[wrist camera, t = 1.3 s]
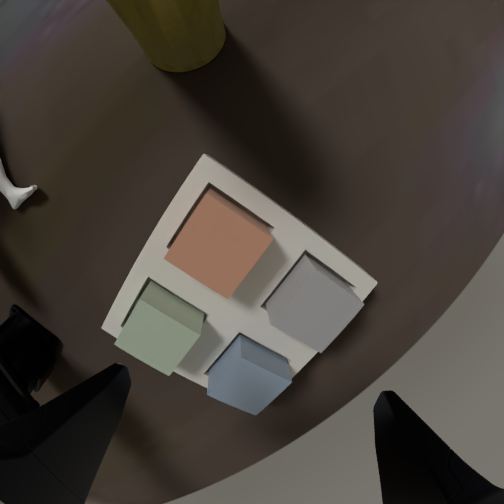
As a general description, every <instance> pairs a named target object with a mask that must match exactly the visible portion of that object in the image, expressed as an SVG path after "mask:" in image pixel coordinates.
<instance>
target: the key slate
mask: <svg viewBox="0 0 504 504" xmlns="http://www.w3.org/2000/svg"><path fill="white" fill-rule="evenodd" d="M291 383H292V379H291V375H290V371H289V367H288V364H287V360H286V359H285V358H283V357H281V356H280V355H278V354H276V353H274V352H272V351H270V350H268V349H266V348H264V347H262V346H261V345H259V344H257V343H255V342H253V341H251V340H249V339H248V338H246V337H244V336H242V335H239V336H238V338H237V339H236V340H235V341H234V342H233V344H232V345H231V346H230V347H229V348H228V349H227V351H226V352H225V353H224V354H223V355H222V356H221V358H220V359H219V360H218V361H217V362H216V363H215V365H214V366H213V367H212V368H211V369H210V370H209V376H208V388H207V395H208V396H211V397H213V398H215V399H217V400H219V401H222V402H224V403H226V404H229V405H231V406H233V407H236V408H238V409H241V410H243V411H245V412H248V413H250V414H253V415H257V414H258V413H259V412H261V411H262V410H263V409H264V408H265V407H266V406H267V405H268V404H270V403H271V402H272V401H273V400H274V399H275V398H276V397H277V396H278V395H279V394H280V393H282V392H283V391H284V390H285V389H286V388H287V387H288V386H289V385H290V384H291Z"/></svg>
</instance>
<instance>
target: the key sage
mask: <svg viewBox="0 0 504 504" xmlns="http://www.w3.org/2000/svg"><path fill="white" fill-rule="evenodd" d="M203 318H204V313H202V312H201V311H199V310H197V309H196V308H194V307H192V306H191V305H189V304H187V303H186V302H184V301H182V300H181V299H179V298H178V297H176V296H174V295H173V294H171V293H170V292H168V291H166V290H165V289H163V288H162V287H160V286H159V285H157V284H155V283H154V282H152V281H150V283H149V284H148V286H147V288H146V289H145V291H144V292H143V294H142V296H141V297H140V299H139V301H138V302H137V304H136V306H135V308H134V309H133V311H132V313H131V315H130V316H129V318H128V320H127V322H126V324H125V325H124V327H123V329H122V331H121V333H120V335H119V336H118V338H117V340H116V342H115V345H116V346H118V347H119V348H121V349H123V350H124V351H126V352H127V353H129V354H131V355H132V356H134V357H136V358H138V359H139V360H141V361H143V362H144V363H146V364H148V365H150V366H151V367H153V368H155V369H157V370H159V371H161V372H162V373H164V374H166V375H168V376H170V374H171V373H172V372H173V370H174V369H175V368H176V367H177V365H178V364H179V363H180V361H181V360H182V359H183V358H184V356H185V355H186V354H187V352H188V351H189V350H190V348H191V347H192V346H193V345H194V343H195V342H196V341H197V339H198V338H199V337H200V335H201V329H202V323H203Z"/></svg>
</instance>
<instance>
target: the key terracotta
mask: <svg viewBox="0 0 504 504" xmlns="http://www.w3.org/2000/svg"><path fill="white" fill-rule="evenodd" d="M272 241H273V237H272V235H271V233H270V231H269V229H268V228H267V227H266V226H264V225H263V224H261V223H260V222H259V221H257V220H256V219H254V218H253V217H251V216H250V215H249V214H247V213H246V212H244V211H243V210H241V209H240V208H238V207H237V206H236V205H234V204H233V203H231V202H230V201H228V200H227V199H225V198H224V197H222V196H221V195H219V194H218V193H217V192H215V191H214V190H212V189H211V188H210V189H209V190H208V192H207V193H206V194H205V196H204V197H203V199H202V200H201V202H200V203H199V204H198V206H197V207H196V209H195V210H194V212H193V213H192V215H191V216H190V218H189V219H188V221H187V223H186V224H185V226H184V227H183V229H182V230H181V232H180V233H179V235H178V236H177V238H176V240H175V241H174V243H173V244H172V246H171V247H170V249H169V251H168V252H167V254H166V255H165V257H164V259H165V260H166V261H168V262H169V263H171V264H172V265H174V266H175V267H177V268H179V269H180V270H182V271H183V272H185V273H186V274H188V275H189V276H191V277H193V278H194V279H196V280H197V281H199V282H200V283H202V284H204V285H205V286H207V287H208V288H210V289H212V290H213V291H215V292H217V293H218V294H220V295H221V296H223V297H225V298H226V299H229V298H230V296H231V295H232V294H233V292H234V291H235V290H236V288H237V287H238V286H239V284H240V283H241V282H242V280H243V279H244V278H245V276H246V275H247V274H248V272H249V271H250V270H251V269H252V267H253V266H254V265H255V263H256V262H257V261H258V259H259V258H260V257H261V255H262V254H263V253H264V251H265V250H266V249H267V247H268V246H269V245H270V243H271V242H272Z"/></svg>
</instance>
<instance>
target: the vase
mask: <svg viewBox="0 0 504 504" xmlns="http://www.w3.org/2000/svg"><path fill="white" fill-rule="evenodd" d="M107 1H108V3H109V4H110V5H111V7H112V8H113V9H114V10H115V12H116V13H117V14H118V16H119V17H120V19H121V20H122V21H123V22H124V24H125V25H126V26H127V27H128V28H129V30H130V31H131V33H132V34H133V36H134V38H135V39H136V40H137V42H138V43H139V44H140V46H141V47H142V48H143V50H144V51H145V53H146V56H147V58H148V59H149V60H150V61H151V62H152V63H153V64H154V65H155V66H157V67H158V68H160V69H162V70H166V71H170V72H186V71H190V70H194V69H197V68H199V67H202V66H204V65H206V64H207V63H208V62H210V61H211V60H212V59H214V58H215V57H216V56H217V55H218V53H219V52H220V51H221V49H222V47H223V45H224V42H225V38H226V32H225V27H224V22H223V20H222V17H221V12H220V6H219V1H218V0H107Z"/></svg>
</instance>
